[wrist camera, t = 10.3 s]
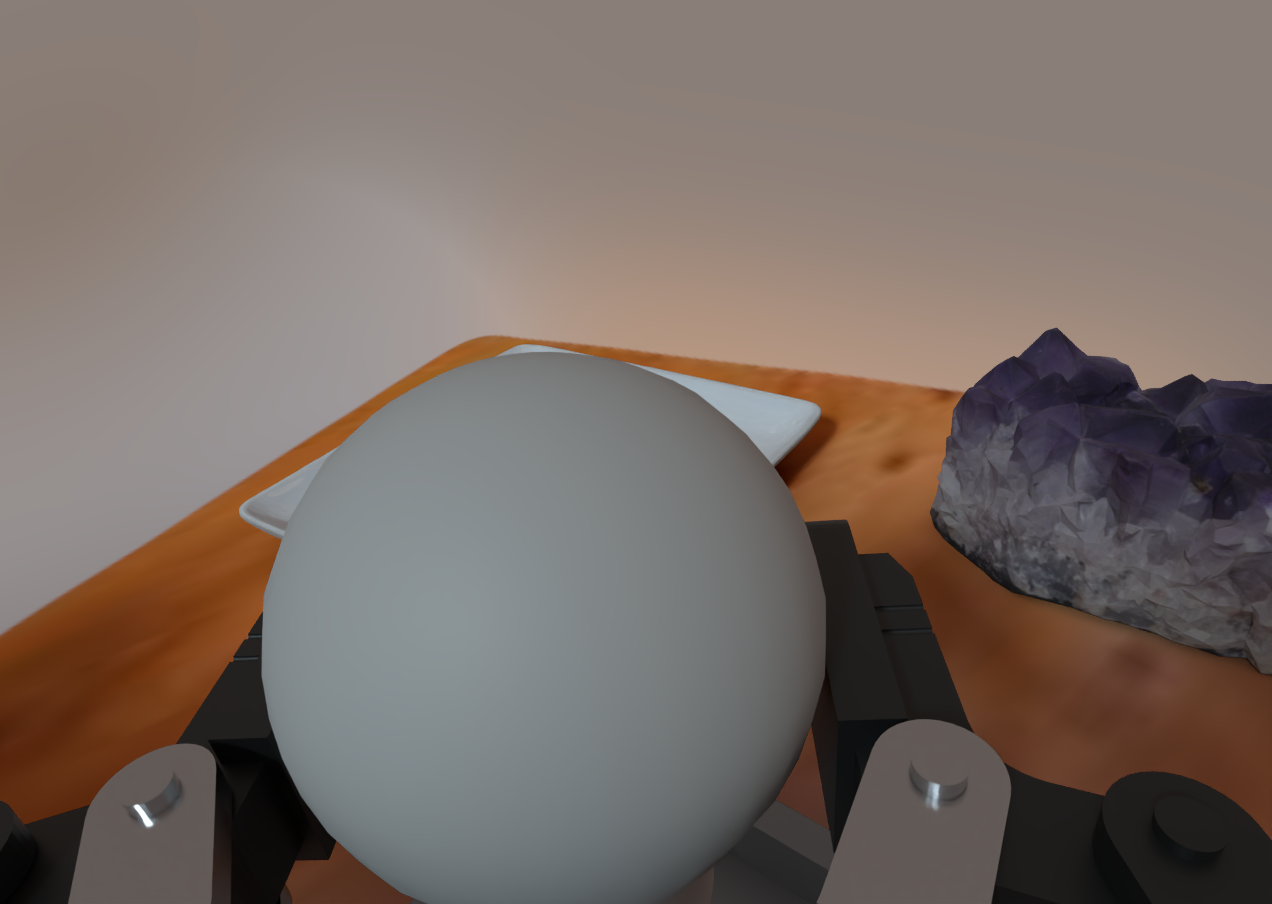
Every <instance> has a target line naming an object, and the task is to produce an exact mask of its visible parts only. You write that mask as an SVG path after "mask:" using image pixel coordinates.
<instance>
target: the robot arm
mask: <svg viewBox="0 0 1272 904" xmlns="http://www.w3.org/2000/svg"><path fill="white" fill-rule="evenodd" d="M805 525H806V527H807V530H808V533H809V537H810V540H811V543H812V547H813V550H814V553H815V556H816V560H817V564H818V568H819V572H820V576H821V581H822V585H823V589H824V593H825V597H826V651H825V678H824V681H823V685H822V688H821V692H820V695H819V699H818V703H817V706H816V710H815V713H814V717H813V720H812V723H811V726H812V731H813V737H814V743H815V749H816V754H817V760H818V766H819V772H820V778H821V783H822V789H823V795H824V801H825V806H826V812H827V818H828V824H829V830H830V835H831V841H832V847H833V853H835V855H834V858H833V860H832V863H831V866H830V869H829V872H828V874H827V877H826V880H825V883H824V886H823V889H822V891H821V894H820V896H819V899H818V901H817V903H816V904H1272V840H1271V839H1270V838H1269V837H1268V835H1267V834H1266V833H1265V832H1264V831H1263V829H1262V828H1261V827H1260V826H1259V825H1258V824H1257V822H1256V821H1255V820H1254V819H1253V818H1252V817H1251V816H1250V815H1249V814H1248V813H1247V812H1246V811H1245V810H1243V809H1242V808H1241V807H1240V806H1239V805H1238V804H1236V803H1235V802H1234V801H1232V800H1231V799H1229V798H1228V797H1226V796H1225V795H1224V794H1222V793H1220V792H1218V791H1217V790H1215V789H1213V788H1211V787H1209V786H1207V785H1205V784H1203V783H1200V782H1198V781H1196V780H1193V779H1190V778H1187V777H1184V776H1181V775H1176V774H1171V773H1166V772H1154V771H1151V772H1139V773H1134V774H1130V775H1127V776H1125V777H1123V778H1121V779H1119V780H1118V781H1116V782H1115V783H1114V784H1112V786H1111V787H1110V788H1109V790H1108V791H1107V792H1106V795H1105V796H1102V795H1098V794H1094V793H1090V792H1086V791H1082V790H1078V789H1074V788H1069V787H1065V786H1061V785H1057V784H1053V783H1049V782H1046V781H1042V780H1039V779H1036V778H1033V777H1031V776H1028V775H1026V774H1024V773H1021V772H1020V771H1018V770H1016V769H1014V768H1012V767H1010V766H1009V765H1007V764H1006V763H1004V762H1003V761H1002V760H1001V758H1000V757H999V755H998V754H997V753H996V752H995V751H994V749H993V748H992V747H991V746H989V745H988V744H987V743H986V742H985V741H984V740H983V739H981V738H980V737H978V736H977V735H975V733H974V732H973V730H972V728H971V726H970V724H969V722H968V720H967V717H966V715H965V712H964V710H963V707H962V704H961V702H960V699H959V696H958V694H957V691H956V689H955V686H954V683H953V681H952V678H951V676H950V673H949V670H948V668H947V665H946V663H945V660H944V657H943V655H942V652H941V650H940V647H939V644H938V642H937V639H936V637H935V634H933V633H932V626H931V624H930V621H929V618H928V616H927V613H926V610H924V609H923V603H922V600H921V597H920V595H919V592H918V590H917V587H916V584H915V582H914V579H913V577H912V575H910V574H909V573H908V572H907V571H906V570H905V569H904V568H903V567H902V566H901V565H900V564H899V563H898V562H897V561H896V560H895V559H894V558H893V557H892V556H891V555H889V554H888V553H878V554H859V555H858V553H857V550H856V546H855V543H854V540H853V536H852V533H851V530H850V527H849V524H848V522H847V520H829V521H812V522H805ZM262 628H263V612H262V614H261V615H260V617H259V618H258V620H257V621H256V623H255V624H254V626H253V627H252V629H251V631H250V632H249V634H248V639H247V640H244V641H243V643H242V644H241V646H240V647H239V649H238V650H237V652H236V653H235V655H234V656H233V657H234V661H233V662H230V663H229V664H228V666H227V667H226V669H225V670H224V672H223V673H222V675H221V676H220V678H219V679H218V681H217V682H216V684H215V685H214V687H213V688H212V690H211V692H210V693H209V695H208V696H207V698H206V699H205V701H204V702H203V704H202V705H201V707H200V708H199V710H198V711H197V713H196V714H195V716H194V717H193V719H192V721H191V722H190V724H189V725H188V727H187V728H186V730H185V731H184V733H183V734H182V736H181V737H180V739H179V740H178V742H177V743H176V745H170V746H166V747H163V748H160V749H157V750H154V751H152V752H150V753H147V754H145V755H143V756H141V757H140V758H138V759H136V760H134V761H133V762H131V763H130V764H128V765H127V766H125V767H124V768H123V769H121V770H120V771H119V772H118V773H116V774H115V775H114V776H113V777H112V778H111V779H110V780H109V781H108V782H107V783H106V784H105V785H104V786H103V787H102V788H101V790H100V791H99V792H98V793H97V795H96V796H95V798H94V799H93V801H92V803H91V805H88V806H85V807H82V808H78V809H75V810H72V811H68V812H65V813H62V814H59V815H55V816H52V817H49V818H45V819H42V820H39V821H35V822H32V823H29V824H25V825H24V824H23V823H22V821H21V820H20V819H19V818H18V816H17V815H16V814H15V813H14V811H13V810H12V809H11V808H10V807H9V805H8V804H6V803H4V802H3V801H0V904H292V897H291V894H290V891H289V889H288V887H287V885H286V884H285V883H286V881H287V878H288V876H289V874H290V871H291V869H292V867H293V865H294V862H295V860H329V858H330V855H331V853H332V850H333V848H334V845H335V843H336V840H335V839H334V838H333V837H332V836H331V835H330V834H329V833H328V832H327V831H326V829H325V828H324V827H323V825H322V824H321V823H320V821H319V820H318V819H317V817H316V816H315V814H314V813H313V812H312V810H311V809H310V808H309V806H308V805H307V804H306V802H305V801H304V800H303V798H302V797H301V796H300V794H299V792H298V790H297V788H296V786H295V784H294V782H293V779H292V777H291V775H290V773H289V771H288V769H287V767H286V765H285V763H284V761H283V759H282V757H281V754H280V751H279V748H278V745H277V742H276V739H275V735H274V732H273V729H272V726H271V723H270V720H269V716H268V710H267V704H266V698H265V692H264V686H263V681H262Z"/></svg>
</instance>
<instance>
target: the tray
mask: <svg viewBox="0 0 1272 904" xmlns="http://www.w3.org/2000/svg"><path fill="white" fill-rule="evenodd" d="M834 855H835V853H833V847H832V841H831V835H830V830H829V829H827V828H825V827H823V826H821V825H820V824H818V823H816V822H814V821H813V820H811V819H809V818H807V817H805V816H804V815H802V814H800V813H798V812H796V811H795V810H793V809H791V808H789V807H787V806H786V805H784V804H782V803H780V802H779V801H777V800H775V802H774V803H773V804H772V805H771V806H770V807H769V808H768V809H767V810H766V812H765V813H764V814H763V815H762V816H761V817H760V818H759V819H758V820H757V822H756V823H755V824H754V825H753V826H752V827H751V828H750V829H749V830H748V831H747V833H746V834H745V835H744V836H743V837H742V838H741V839H740V840H739V841H738V842H737V844H736V845H735V846H734V847H733V848H732V849H731V850H730V851H729V852H728V853H727V854H726V855H725V856H724V857H723V858H722V859H721V860H720V861H719V862H718V863H717V864H716V865H715V866H714V881H713V889H712V897H711V902H710V904H816V903H817V901H818V899H819V896H820V894H821V891H822V889H823V886H824V883H825V880H826V877H827V874H828V872H829V869H830V866H831V863H832V860H833V858H834ZM409 904H427V903H424V902H422V901H419V900H417V899H413V900H412V901H411V902H410V903H409Z"/></svg>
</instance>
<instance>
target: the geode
mask: <svg viewBox="0 0 1272 904" xmlns="http://www.w3.org/2000/svg"><path fill="white" fill-rule="evenodd" d="M938 480H939V485H938V490H937V494H936V497H935V500H934V503H933V505H932V508H931V511H930V514H931V517H932V521H933V524H934V527H935V528H936V529H937V531H938V532H939V533H940V534H941V536H942V537H943V538H944V539H945V540H946V541H947V542H948V543H949V544H951V545H952V546H953V547H954V548H955V549H956V550H957V551H959V552H960V553H961V554H962V555H964V556H965V557H966V558H967V559H969V560H970V561H971V562H972V563H974V564H975V565H976V566H977V567H979V568H980V569H981V570H983V571H984V572H985V573H986V574H987V575H988V576H989V577H990V578H991V579H992V580H994V581H995V582H997V583H998V584H1000V585H1002V586H1003V587H1005V588H1007V589H1008V590H1010V591H1012V592H1014V593H1018V594H1022V595H1026V596H1030V597H1034V598H1038V599H1041V600H1045V601H1049V602H1053V603H1056V604H1060V605H1064V606H1068V607H1072V608H1075V609H1077V610H1080V611H1083V612H1086V613H1089V614H1092V615H1095V616H1097V617H1100V618H1103V619H1108V620H1112V621H1116V622H1120V623H1124V624H1127V625H1130V626H1133V627H1136V628H1138V629H1141V630H1144V631H1148V632H1151V633H1155V634H1158V635H1161V636H1163V637H1165V638H1167V639H1169V640H1171V641H1174V642H1178V643H1181V644H1185V645H1188V646H1192V647H1195V648H1198V649H1200V650H1203V651H1206V652H1209V653H1212V654H1215V655H1218V656H1226V657H1240V658H1247V659H1248V660H1249V661H1250V662H1251V663H1252V665H1253V666H1254V667H1255V668H1256V669H1258V670H1259V671H1260V672H1261V673H1263V674H1269V675H1272V384H1254V383H1251V382H1247V381H1221V380H1216V379H1210V380H1209V381H1207V382H1205V383H1204V382H1203V381H1201V380H1200V379H1198V378H1197V377H1195V376H1194V375H1193V374H1191V375H1188V376H1185V377H1183V378H1181V379H1178V380H1176V381H1174V382H1172V383H1170V384H1168V385H1166V386H1164V387H1162V388H1150V389H1146V390H1143V391H1142V390H1141V388H1140V387H1139V385H1138V383H1137V380H1136V379H1135V376H1134V374H1133V372H1132V370H1131V369H1130V367H1129V366H1128V365H1126V364H1123V363H1121V362H1119V361H1118V360H1117V359H1116V358H1109V357H1101V356H1087V355H1086V354H1085V353H1084V352H1082V351H1081V350H1080V349H1079V348H1077V347H1076V346H1075V345H1074V344H1073V343H1072V342H1071V341H1070V340H1069V339H1068V338H1067V337H1066V336H1065V335H1064V334H1063V333H1062V332H1061V331H1060V330H1059V329H1058V328H1054V329H1050V330H1047V331H1045V332H1044V333H1043V334H1042V335H1041V336H1040V337H1039V338H1038V339H1037V340H1036V341H1035V342H1034V343H1033V344H1032V345H1031V346H1030V347H1029V348H1028V349H1027V350H1025V351H1024V352H1023V353H1022V355H1020V356H1019V357H1018V358H1017V357H1015V356H1013V357H1011V358H1009V359H1007V360H1005V361H1004V362H1002V363H1000V364H998V365H997V366H996V367H994V368H993V369H992V370H991V371H990V372H989V373H987V374H986V375H985V376H984V377H983V378H981V380H979V381H978V382H977V383H976V384H975V385H974V387H972V388H969V389H968V390H967V391H966V392H965V394H964V395H963V396H962V398H961V399H960V401H959V402H958V404H957V405H956V407H955V408H954V410H953V418H952V428H951V436H949V437H947V439H946V457H945V458H944V460H943V463H942V471H941V472H940V474H939V476H938Z"/></svg>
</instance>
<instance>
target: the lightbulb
mask: <svg viewBox="0 0 1272 904" xmlns="http://www.w3.org/2000/svg"><path fill="white" fill-rule="evenodd" d="M825 651H826V597H825V593H824V589H823V585H822V581H821V576H820V572H819V568H818V564H817V560H816V556H815V553H814V550H813V547H812V543H811V540H810V537H809V533H808V530H807V527H806V525H805V522H804V520H803V518H802V516H801V514H800V512H799V510H798V507H797V505H796V503H795V501H794V499H793V497H792V494H791V492H790V490H789V488H788V487H787V486H786V484H785V483H784V481H783V480H782V478H781V477H780V475H779V474H778V472H777V471H776V469H775V468H774V466H773V465H772V464H771V462H770V461H769V460H768V459H767V458H766V457H765V455H764V454H763V453H762V452H761V451H760V450H759V448H758V447H757V446H756V445H755V444H754V443H753V441H752V440H751V439H750V438H749V437H748V435H747V434H746V433H745V432H743V431H742V430H741V429H740V428H739V427H738V426H736V425H735V424H734V423H733V422H732V421H731V420H729V419H728V418H727V417H726V416H725V415H723V414H722V413H721V412H720V411H718V410H717V409H716V408H715V407H713V406H712V405H711V404H710V403H708V402H707V401H706V400H705V399H703V398H702V397H701V396H700V395H698V394H697V393H696V392H694V391H692V390H690V389H688V388H686V387H685V386H683V385H681V384H679V383H677V382H675V381H673V380H670V379H668V378H665V377H663V376H660V375H658V374H655V373H653V372H650V371H648V370H645V369H643V368H640V367H637V366H634V365H631V364H628V363H625V362H622V361H619V360H614V359H608V358H603V357H597V356H590V355H581V354H573V353H562V352H527V353H516V354H509V355H503V356H497V357H492V358H488V359H484V360H480V361H476V362H472V363H469V364H466V365H463V366H460V367H457V368H454V369H452V370H450V371H447V372H445V373H443V374H440V375H438V376H436V377H434V378H432V379H430V380H429V381H427V382H425V383H423V384H421V385H419V386H417V387H415V388H413V389H412V390H410V391H408V392H406V393H405V394H403V395H401V396H399V397H397V398H396V399H394V400H392V401H391V402H389V403H388V404H387V405H385V406H384V407H383V408H381V409H380V410H378V411H377V412H376V413H374V414H373V415H372V416H371V417H370V418H369V419H368V420H367V421H365V422H364V423H363V424H362V425H361V426H360V427H359V428H358V429H357V430H356V431H355V432H354V433H352V434H351V435H350V436H349V437H348V438H347V439H346V440H345V441H344V442H343V443H342V444H341V445H340V446H339V447H338V448H337V449H336V450H335V451H334V452H333V453H332V454H331V455H330V456H329V457H328V458H327V459H326V460H325V462H324V463H323V465H322V466H321V468H320V469H319V471H318V472H317V474H316V475H315V477H314V478H313V480H312V482H311V483H310V485H309V487H308V488H307V490H306V492H305V494H304V495H303V497H302V499H301V500H300V502H299V504H298V505H297V507H296V509H295V511H294V512H293V514H292V516H291V517H290V519H289V521H288V524H287V527H286V530H285V533H284V536H283V539H282V542H281V545H280V548H279V551H278V553H277V556H276V559H275V562H274V565H273V568H272V571H271V574H270V577H269V580H268V583H267V586H266V590H265V593H264V606H263V628H262V681H263V686H264V692H265V698H266V704H267V710H268V716H269V720H270V723H271V726H272V729H273V732H274V735H275V739H276V742H277V745H278V748H279V751H280V754H281V757H282V759H283V761H284V763H285V765H286V767H287V769H288V771H289V773H290V775H291V777H292V779H293V782H294V784H295V786H296V788H297V790H298V792H299V794H300V796H301V797H302V798H303V800H304V801H305V802H306V804H307V805H308V806H309V808H310V809H311V810H312V812H313V813H314V814H315V816H316V817H317V819H318V820H319V821H320V823H321V824H322V825H323V827H324V828H325V829H326V831H327V832H328V833H329V834H330V835H331V836H332V837H333V838H334V839H335V840H336V841H337V842H339V843H340V844H341V845H342V846H343V847H344V848H345V849H346V850H347V851H348V852H349V853H351V854H352V855H353V856H354V857H355V858H356V859H357V860H358V861H359V862H360V863H361V864H363V865H364V866H365V867H367V868H368V869H369V870H371V871H372V872H373V873H375V874H376V875H377V876H379V877H380V878H381V879H383V880H384V881H385V882H387V883H388V884H389V885H391V886H392V887H393V888H395V889H396V890H397V891H399V892H400V893H402V894H404V895H407V896H409V897H412V898H414V899H417V900H419V901H422V902H424V903H427V904H710V902H711V897H712V889H713V881H714V866H715V865H716V864H717V863H718V862H719V861H720V860H721V859H722V858H723V857H724V856H725V855H726V854H727V853H728V852H729V851H730V850H731V849H732V848H733V847H734V846H735V845H736V844H737V842H738V841H739V840H740V839H741V838H742V837H743V836H744V835H745V834H746V833H747V831H748V830H749V829H750V828H751V827H752V826H753V825H754V824H755V823H756V822H757V820H758V819H759V818H760V817H761V816H762V815H763V814H764V813H765V812H766V810H767V809H768V808H769V807H770V806H771V805H772V804H773V803H774V802H775V800H776V798H777V796H778V795H779V793H780V791H781V789H782V788H783V786H784V784H785V782H786V780H787V779H788V777H789V775H790V773H791V772H792V770H793V768H794V766H795V765H796V763H797V761H798V759H799V756H800V754H801V751H802V748H803V745H804V742H805V740H806V737H807V734H808V731H809V729H810V726H811V723H812V720H813V717H814V713H815V710H816V706H817V703H818V699H819V695H820V692H821V688H822V685H823V681H824V678H825Z"/></svg>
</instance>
